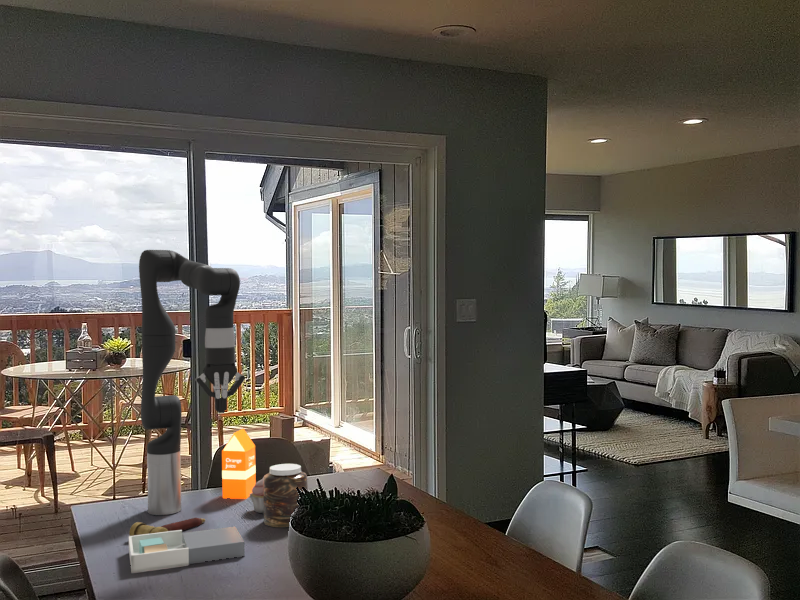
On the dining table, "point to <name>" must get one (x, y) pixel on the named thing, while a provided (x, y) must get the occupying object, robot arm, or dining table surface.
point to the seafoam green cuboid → (149, 543)
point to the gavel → (164, 527)
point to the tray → (158, 552)
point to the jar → (282, 493)
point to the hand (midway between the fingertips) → (220, 412)
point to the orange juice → (238, 466)
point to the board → (213, 544)
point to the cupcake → (258, 496)
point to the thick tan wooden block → (155, 548)
